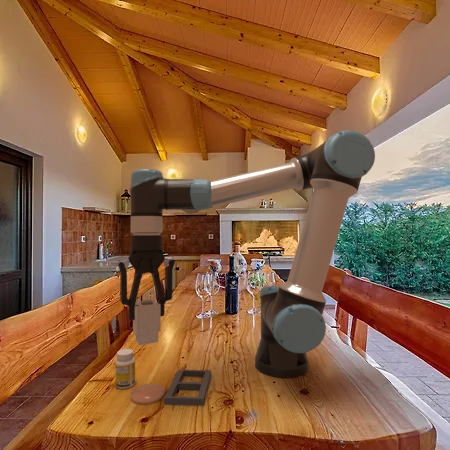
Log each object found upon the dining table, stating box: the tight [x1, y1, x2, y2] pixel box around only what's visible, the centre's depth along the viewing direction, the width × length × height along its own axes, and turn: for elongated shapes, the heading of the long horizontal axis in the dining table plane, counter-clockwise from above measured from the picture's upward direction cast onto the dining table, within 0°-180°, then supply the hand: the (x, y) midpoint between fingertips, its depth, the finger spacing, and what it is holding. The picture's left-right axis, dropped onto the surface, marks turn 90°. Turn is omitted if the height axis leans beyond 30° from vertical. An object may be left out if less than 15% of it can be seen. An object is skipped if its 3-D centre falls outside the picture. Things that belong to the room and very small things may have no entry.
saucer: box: [130, 383, 166, 405], centre depth 76 cm, size 8×8×1 cm
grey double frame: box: [163, 369, 212, 407], centre depth 79 cm, size 9×14×2 cm, turn 176°
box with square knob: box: [135, 299, 159, 346], centre depth 76 cm, size 4×4×9 cm
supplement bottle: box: [115, 348, 136, 390], centre depth 81 cm, size 5×5×8 cm
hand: (146, 331), depth 76 cm, fingers closed on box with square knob, 4 cm apart
